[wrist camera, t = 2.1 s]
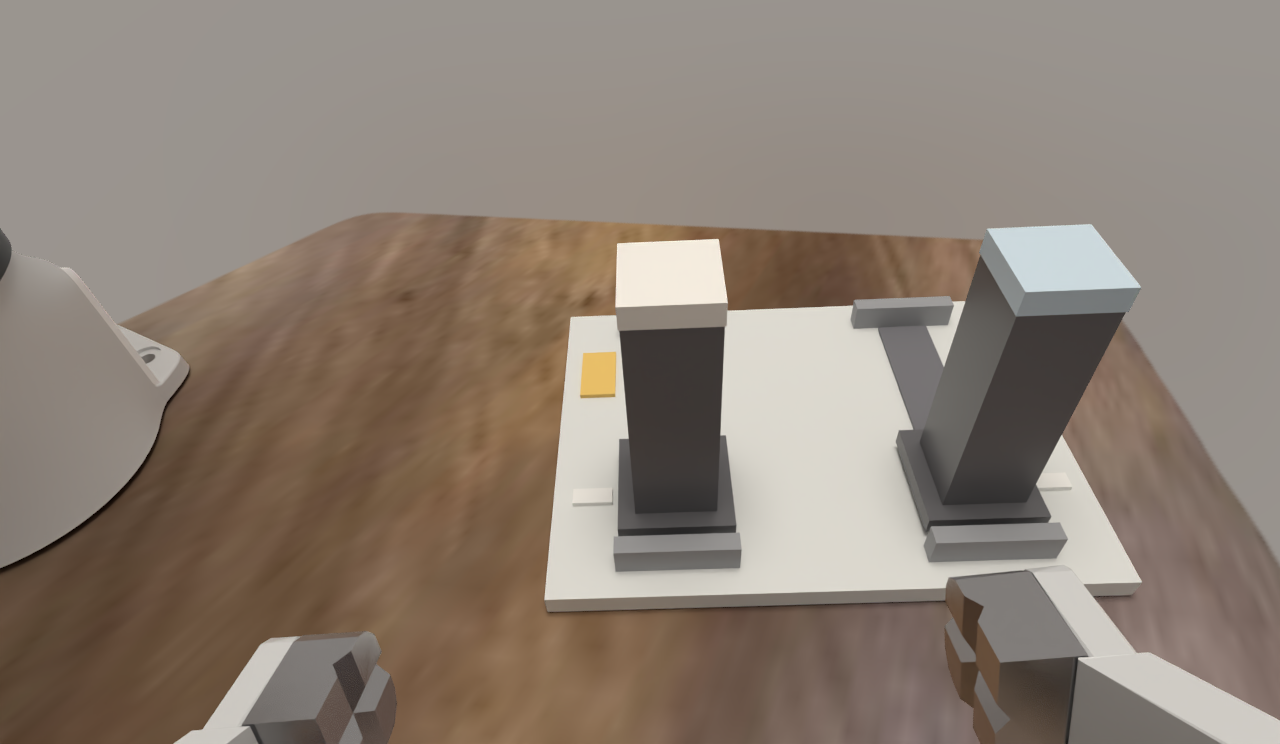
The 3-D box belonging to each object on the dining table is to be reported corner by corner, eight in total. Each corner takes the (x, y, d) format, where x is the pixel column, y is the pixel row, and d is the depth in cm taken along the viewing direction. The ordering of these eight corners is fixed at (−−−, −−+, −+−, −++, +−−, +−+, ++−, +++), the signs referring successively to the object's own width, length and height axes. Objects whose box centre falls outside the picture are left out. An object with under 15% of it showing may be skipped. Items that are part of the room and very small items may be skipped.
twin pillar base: (547, 611, 31) (539, 582, 30) (572, 330, 44) (568, 298, 43) (1131, 595, 31) (1157, 563, 29) (983, 313, 44) (995, 280, 42)
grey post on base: (618, 539, 32) (593, 322, 24) (620, 450, 36) (598, 233, 27) (735, 536, 32) (751, 315, 23) (725, 446, 36) (736, 227, 27)
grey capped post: (925, 531, 32) (1011, 307, 23) (895, 441, 35) (960, 218, 27) (1045, 527, 32) (1175, 300, 23) (1003, 437, 35) (1102, 212, 27)
